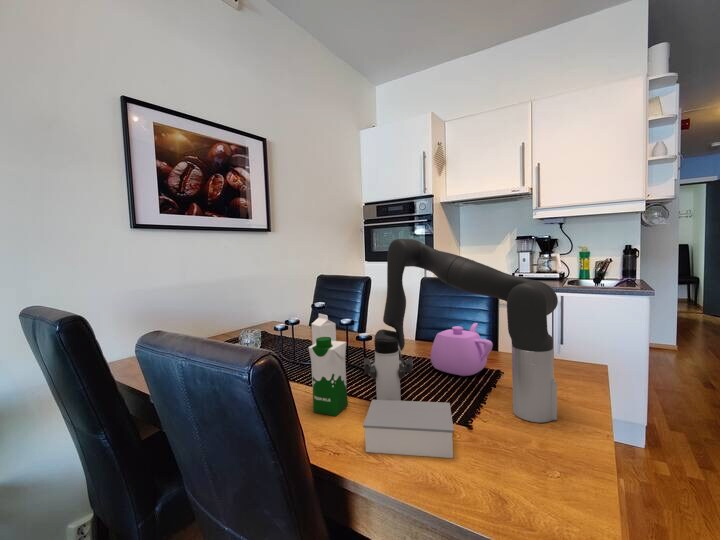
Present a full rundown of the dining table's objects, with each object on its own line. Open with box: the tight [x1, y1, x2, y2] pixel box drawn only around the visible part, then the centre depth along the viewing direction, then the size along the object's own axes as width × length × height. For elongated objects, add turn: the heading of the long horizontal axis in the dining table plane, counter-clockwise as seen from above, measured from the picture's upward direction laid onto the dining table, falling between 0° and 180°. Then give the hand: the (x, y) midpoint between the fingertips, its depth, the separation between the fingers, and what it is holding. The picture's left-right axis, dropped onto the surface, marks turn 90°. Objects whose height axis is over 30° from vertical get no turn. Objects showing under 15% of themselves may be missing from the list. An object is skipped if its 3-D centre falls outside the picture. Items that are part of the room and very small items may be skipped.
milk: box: [311, 313, 337, 345], centre depth 117 cm, size 6×6×22 cm
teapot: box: [430, 322, 494, 377], centre depth 120 cm, size 23×21×15 cm
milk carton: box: [308, 337, 349, 417], centre depth 94 cm, size 9×9×20 cm
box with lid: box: [362, 399, 455, 459], centre depth 77 cm, size 19×13×6 cm
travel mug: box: [374, 338, 402, 401], centre depth 90 cm, size 6×7×20 cm
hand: (387, 375), depth 87 cm, fingers closed on travel mug, 6 cm apart
